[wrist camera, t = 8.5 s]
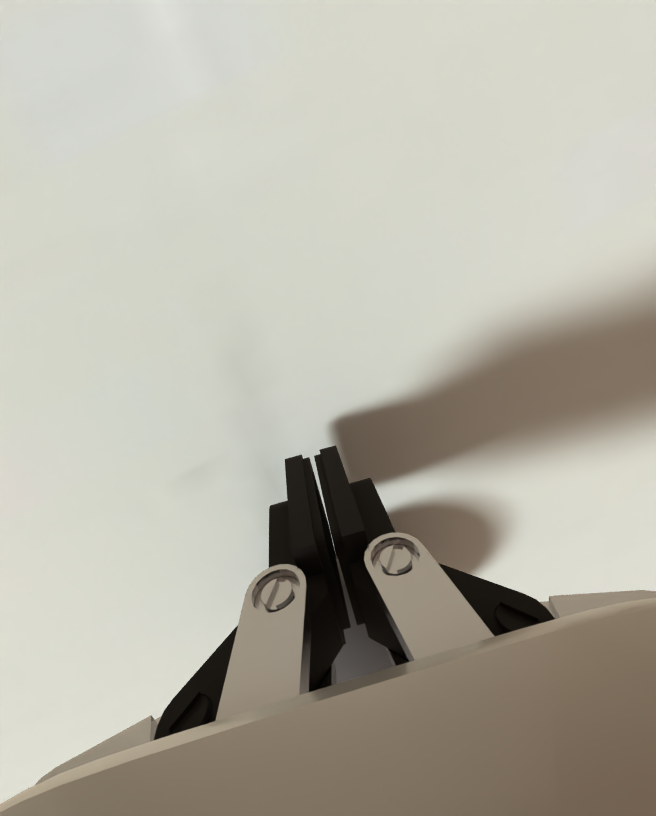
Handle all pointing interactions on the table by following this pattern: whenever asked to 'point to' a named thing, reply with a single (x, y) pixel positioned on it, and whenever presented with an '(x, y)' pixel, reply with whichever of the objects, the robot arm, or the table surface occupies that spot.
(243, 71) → the table surface
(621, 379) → the table surface
